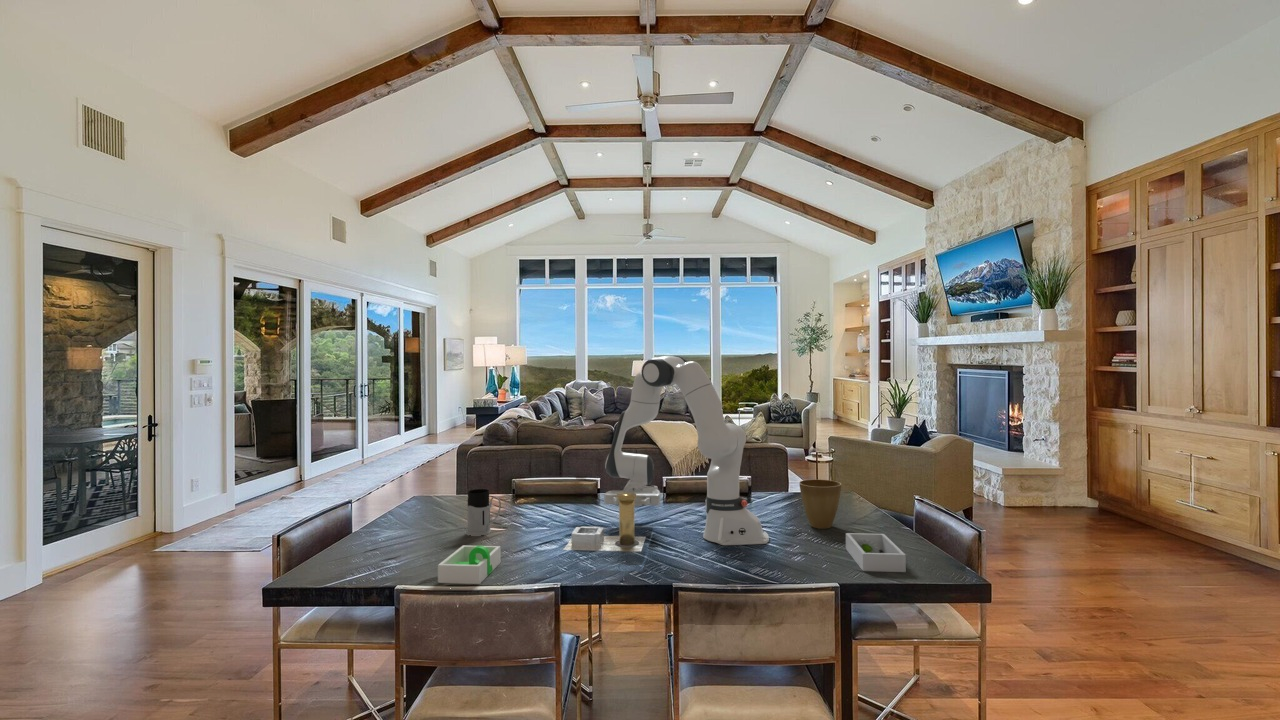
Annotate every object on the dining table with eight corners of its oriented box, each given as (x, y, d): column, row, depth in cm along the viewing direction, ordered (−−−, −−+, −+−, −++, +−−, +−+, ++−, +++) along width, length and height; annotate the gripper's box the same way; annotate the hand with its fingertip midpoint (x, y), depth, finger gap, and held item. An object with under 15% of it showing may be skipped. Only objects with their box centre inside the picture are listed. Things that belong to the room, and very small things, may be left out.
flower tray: (884, 549, 196) (883, 533, 196) (905, 572, 175) (905, 554, 175) (845, 548, 197) (845, 533, 197) (862, 571, 177) (862, 553, 177)
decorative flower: (888, 545, 178) (856, 531, 192) (874, 561, 176) (844, 546, 191) (903, 562, 179) (871, 547, 193) (890, 579, 178) (859, 562, 192)
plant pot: (846, 524, 226) (845, 481, 226) (835, 534, 214) (835, 488, 214) (806, 518, 234) (806, 477, 234) (794, 528, 222) (793, 484, 222)
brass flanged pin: (637, 540, 203) (637, 492, 203) (635, 546, 197) (635, 496, 197) (618, 540, 204) (618, 492, 204) (616, 545, 197) (615, 496, 197)
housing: (645, 541, 208) (645, 525, 208) (641, 556, 192) (641, 538, 192) (573, 539, 210) (573, 523, 210) (563, 554, 194) (563, 537, 194)
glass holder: (477, 528, 225) (477, 487, 225) (508, 532, 219) (508, 491, 219) (461, 534, 218) (460, 492, 218) (492, 539, 211) (492, 496, 211)
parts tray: (500, 562, 187) (500, 546, 187) (479, 584, 169) (479, 566, 169) (463, 561, 188) (462, 545, 188) (437, 582, 170) (437, 565, 170)
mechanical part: (494, 568, 181) (493, 541, 181) (488, 575, 175) (487, 547, 175) (454, 568, 182) (454, 541, 182) (447, 575, 176) (446, 547, 176)
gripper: (606, 485, 226) (600, 493, 212) (661, 486, 224) (659, 494, 210) (606, 502, 226) (600, 511, 212) (661, 503, 224) (659, 512, 210)
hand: (630, 503), depth 211 cm, fingers open, 8 cm apart
